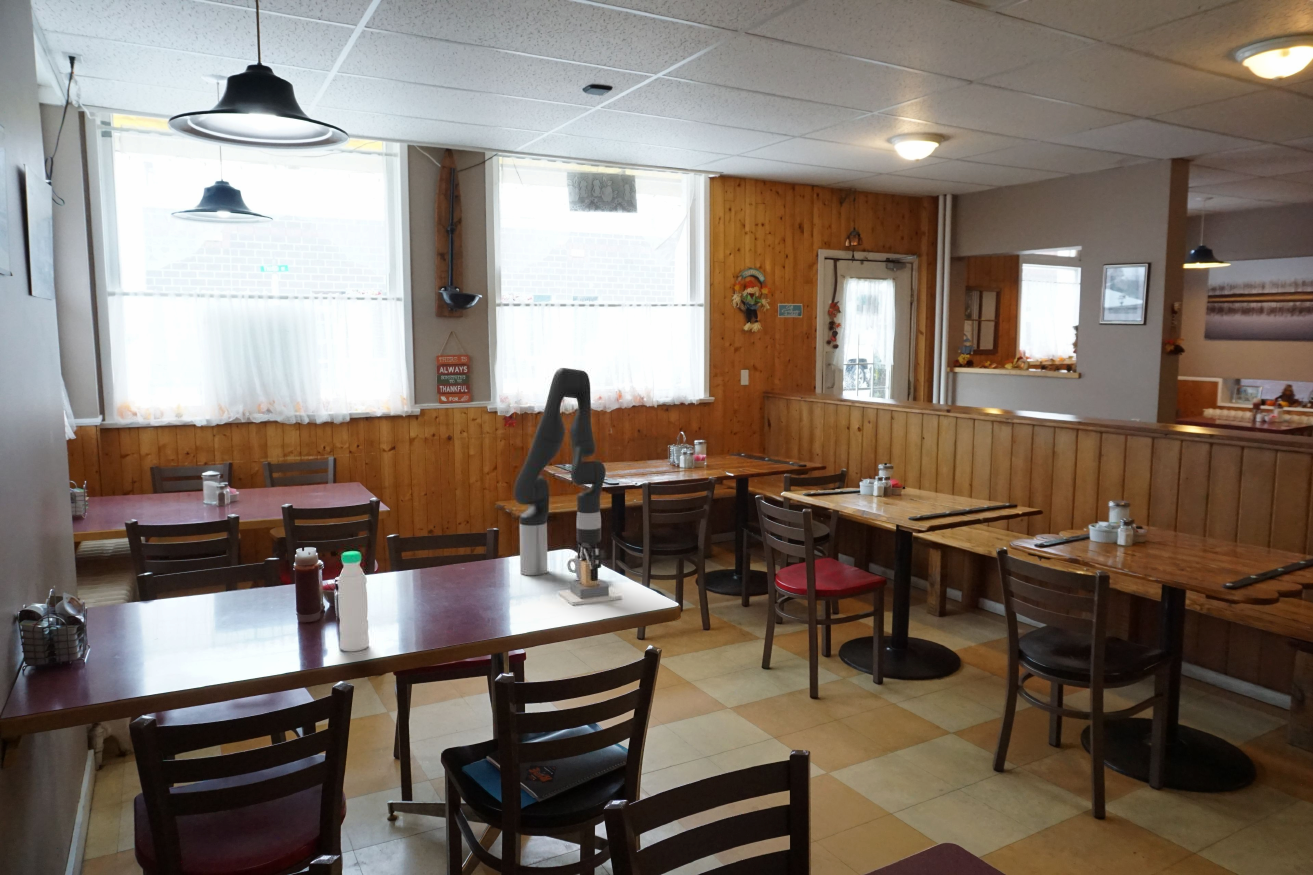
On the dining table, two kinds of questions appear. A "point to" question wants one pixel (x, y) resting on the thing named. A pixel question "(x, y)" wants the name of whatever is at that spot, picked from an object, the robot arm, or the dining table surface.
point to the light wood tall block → (586, 575)
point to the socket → (588, 593)
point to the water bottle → (352, 604)
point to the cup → (577, 567)
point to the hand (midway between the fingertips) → (589, 577)
